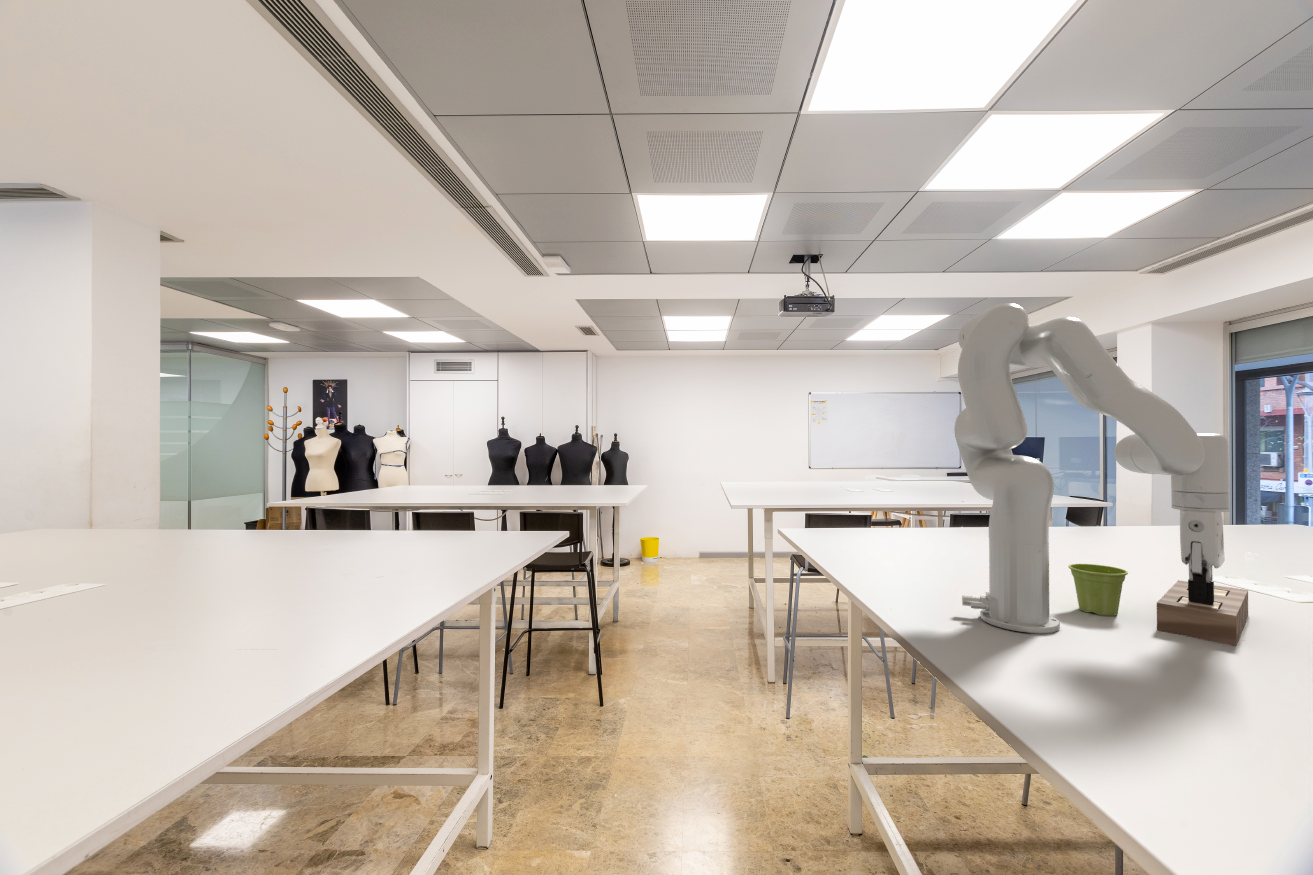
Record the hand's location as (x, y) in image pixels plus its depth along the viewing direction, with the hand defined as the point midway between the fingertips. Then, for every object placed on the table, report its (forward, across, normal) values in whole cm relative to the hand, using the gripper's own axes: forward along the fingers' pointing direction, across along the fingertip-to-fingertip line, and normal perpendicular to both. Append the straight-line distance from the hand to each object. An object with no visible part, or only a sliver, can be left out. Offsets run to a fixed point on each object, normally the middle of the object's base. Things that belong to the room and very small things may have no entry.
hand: (1201, 602), depth 101 cm
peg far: (+5, +12, 0) cm, 13 cm away
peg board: (+5, +6, 0) cm, 8 cm away
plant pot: (+5, -1, +15) cm, 16 cm away
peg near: (+5, 0, 0) cm, 5 cm away
